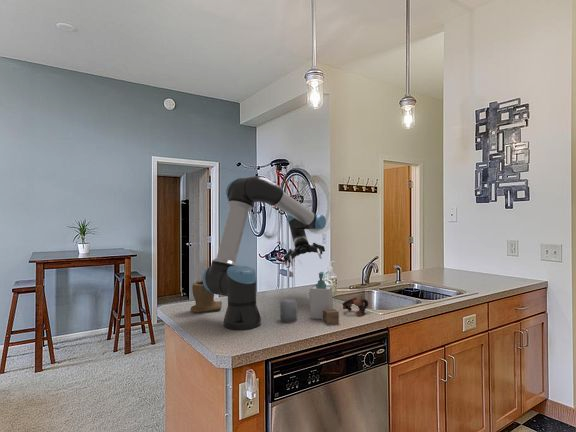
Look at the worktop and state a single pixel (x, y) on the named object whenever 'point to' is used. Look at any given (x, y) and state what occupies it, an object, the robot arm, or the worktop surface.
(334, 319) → the walnut block
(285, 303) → the slate grey tub
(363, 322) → the worktop surface
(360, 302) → the brown arched figurine
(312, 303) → the soap bottle
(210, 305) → the brown boot
